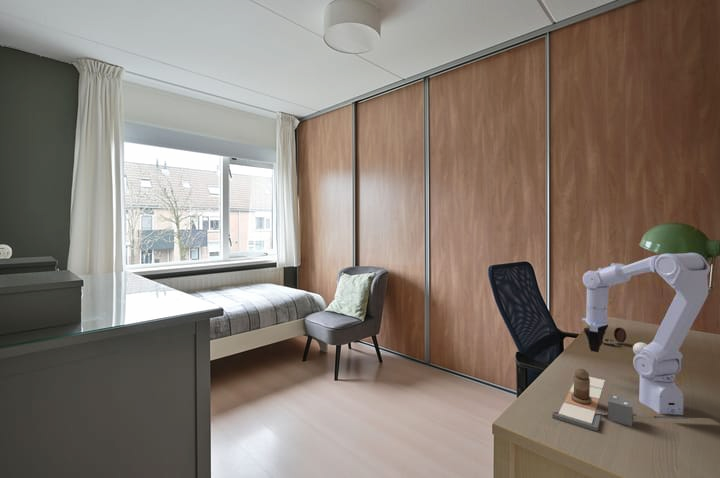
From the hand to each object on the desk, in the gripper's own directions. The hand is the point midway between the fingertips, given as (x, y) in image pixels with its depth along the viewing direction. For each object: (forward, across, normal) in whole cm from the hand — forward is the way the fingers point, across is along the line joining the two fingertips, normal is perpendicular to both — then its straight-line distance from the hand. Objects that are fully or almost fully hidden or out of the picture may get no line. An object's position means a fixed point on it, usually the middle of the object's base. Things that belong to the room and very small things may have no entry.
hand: (595, 348), depth 116 cm
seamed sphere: (+11, -34, +10) cm, 37 cm away
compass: (+11, -44, +2) cm, 45 cm away
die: (+10, +24, +8) cm, 28 cm away
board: (+10, +18, -1) cm, 21 cm away
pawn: (+9, +22, -1) cm, 24 cm away
